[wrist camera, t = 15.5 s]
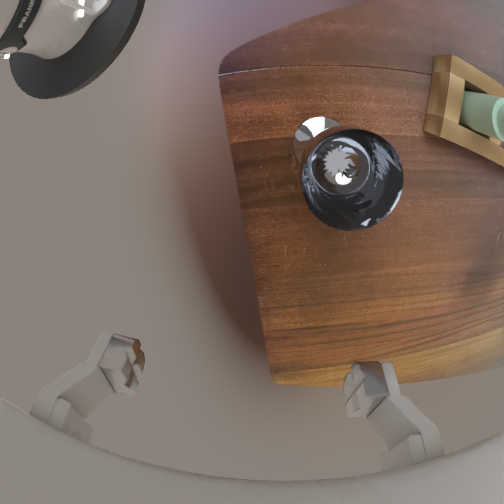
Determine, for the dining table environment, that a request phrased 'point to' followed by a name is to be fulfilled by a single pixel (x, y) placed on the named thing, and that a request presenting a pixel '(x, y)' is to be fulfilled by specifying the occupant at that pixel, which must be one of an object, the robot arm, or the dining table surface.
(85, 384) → the robot arm
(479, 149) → the hollow wooden block
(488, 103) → the bottle
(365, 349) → the dining table surface
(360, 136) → the wine glass
